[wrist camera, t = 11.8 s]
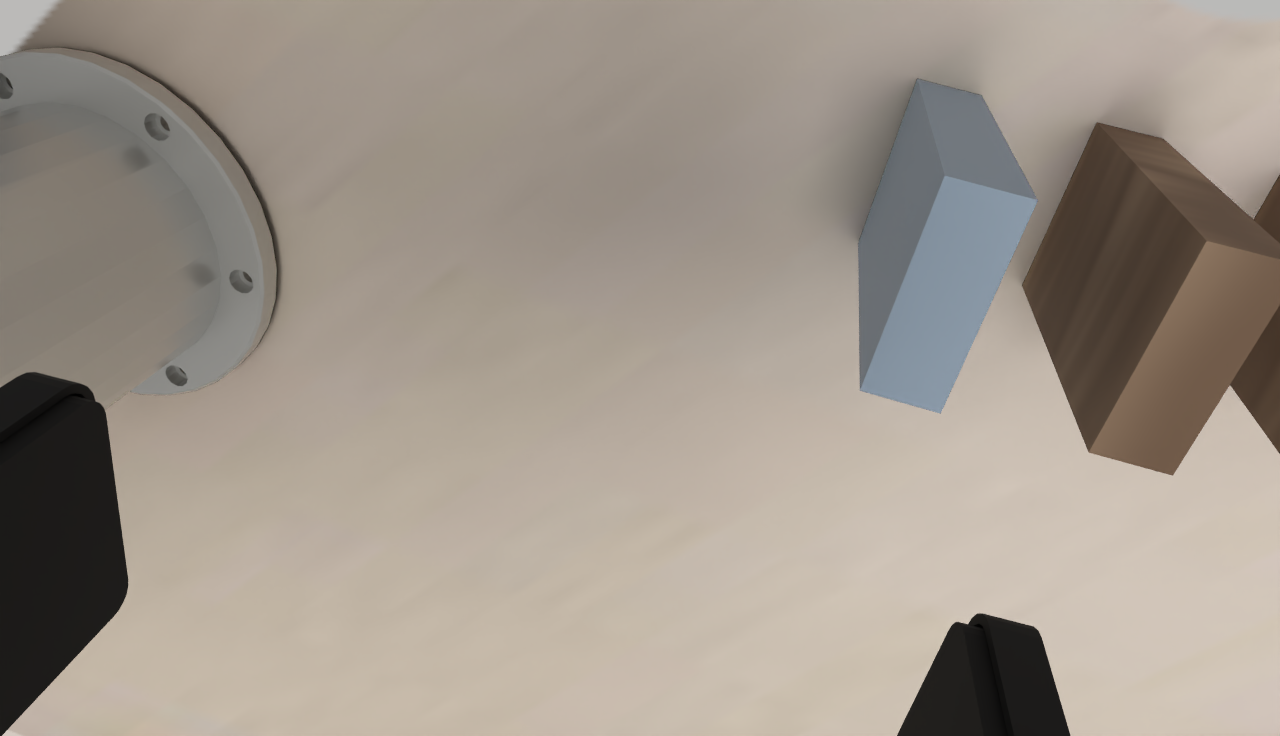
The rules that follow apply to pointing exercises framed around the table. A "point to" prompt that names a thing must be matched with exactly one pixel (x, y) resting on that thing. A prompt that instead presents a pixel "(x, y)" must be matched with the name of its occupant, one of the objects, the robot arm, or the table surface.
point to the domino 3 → (1264, 348)
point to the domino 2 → (1148, 296)
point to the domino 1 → (936, 245)
